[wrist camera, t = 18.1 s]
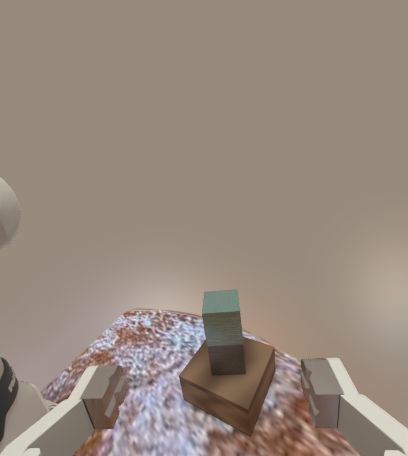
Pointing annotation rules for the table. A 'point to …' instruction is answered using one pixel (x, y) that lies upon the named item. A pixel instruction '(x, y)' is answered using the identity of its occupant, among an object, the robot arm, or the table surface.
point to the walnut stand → (231, 385)
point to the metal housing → (223, 332)
